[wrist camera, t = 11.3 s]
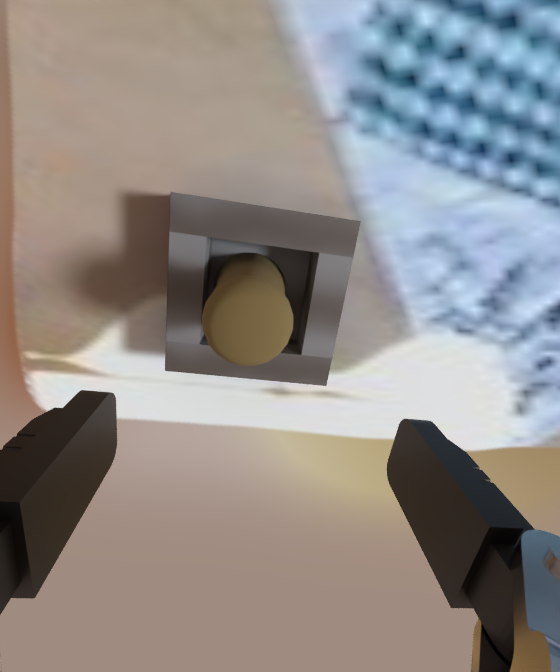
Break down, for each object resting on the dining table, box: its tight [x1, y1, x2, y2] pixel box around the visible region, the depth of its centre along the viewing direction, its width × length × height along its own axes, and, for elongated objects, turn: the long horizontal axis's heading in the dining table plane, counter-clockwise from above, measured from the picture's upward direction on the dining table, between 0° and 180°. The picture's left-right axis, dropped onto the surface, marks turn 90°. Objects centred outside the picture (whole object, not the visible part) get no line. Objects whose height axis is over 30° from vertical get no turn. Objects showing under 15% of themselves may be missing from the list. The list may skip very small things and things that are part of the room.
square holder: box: [165, 192, 361, 386], centre depth 26 cm, size 13×13×4 cm
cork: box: [202, 253, 293, 366], centre depth 23 cm, size 6×6×11 cm
